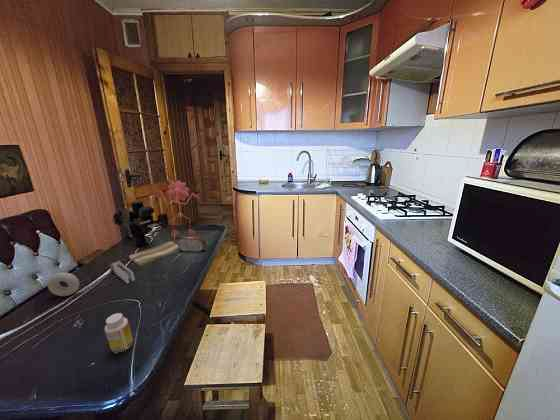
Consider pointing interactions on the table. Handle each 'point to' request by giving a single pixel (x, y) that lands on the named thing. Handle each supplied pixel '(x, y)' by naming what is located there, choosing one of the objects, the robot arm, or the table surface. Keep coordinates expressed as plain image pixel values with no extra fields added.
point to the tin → (191, 243)
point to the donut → (66, 277)
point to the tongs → (122, 271)
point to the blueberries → (79, 324)
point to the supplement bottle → (118, 333)
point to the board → (154, 253)
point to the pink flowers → (178, 193)
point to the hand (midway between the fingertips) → (156, 227)
